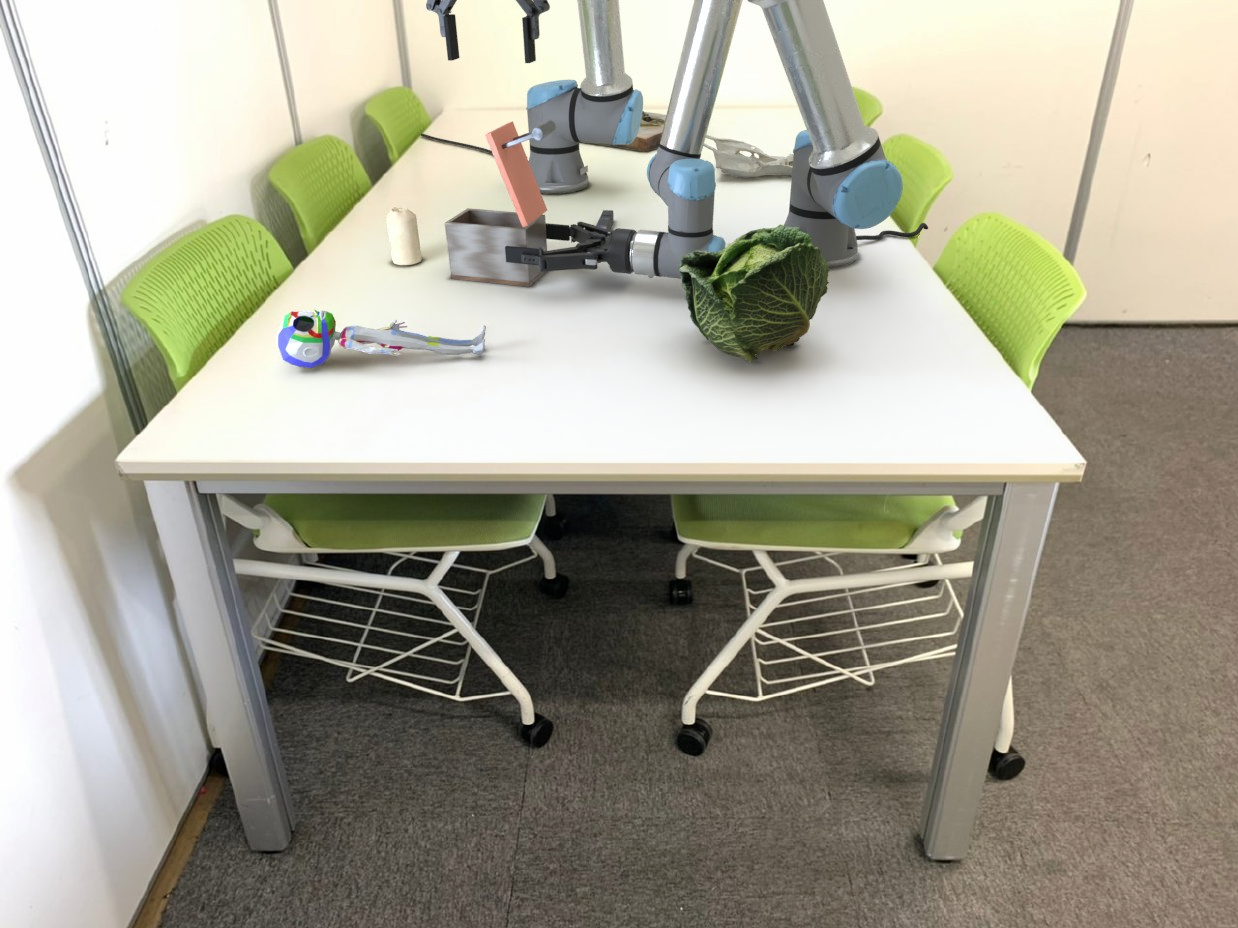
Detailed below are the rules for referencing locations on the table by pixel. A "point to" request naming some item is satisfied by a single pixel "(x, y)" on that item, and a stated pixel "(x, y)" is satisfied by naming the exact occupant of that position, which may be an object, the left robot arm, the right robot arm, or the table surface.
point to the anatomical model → (747, 159)
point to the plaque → (646, 133)
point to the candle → (403, 236)
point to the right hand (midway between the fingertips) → (521, 241)
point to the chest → (492, 246)
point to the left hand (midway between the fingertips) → (491, 61)
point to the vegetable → (755, 290)
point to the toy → (356, 339)
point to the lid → (519, 168)
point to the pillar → (606, 219)
